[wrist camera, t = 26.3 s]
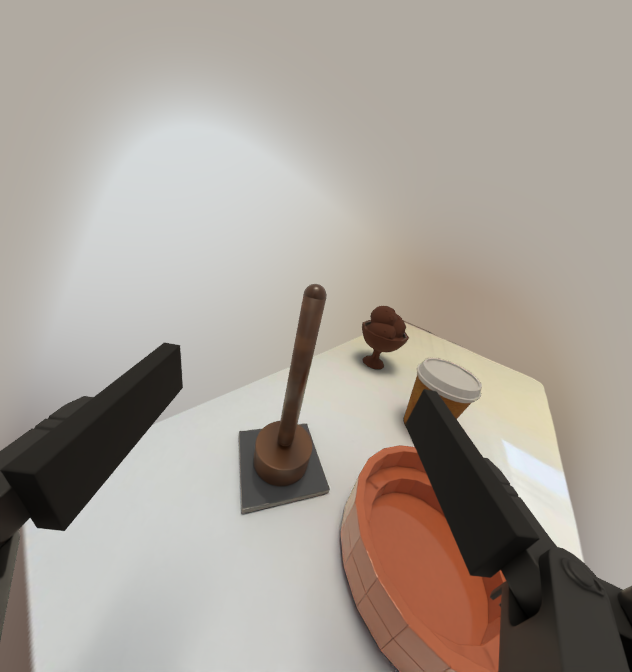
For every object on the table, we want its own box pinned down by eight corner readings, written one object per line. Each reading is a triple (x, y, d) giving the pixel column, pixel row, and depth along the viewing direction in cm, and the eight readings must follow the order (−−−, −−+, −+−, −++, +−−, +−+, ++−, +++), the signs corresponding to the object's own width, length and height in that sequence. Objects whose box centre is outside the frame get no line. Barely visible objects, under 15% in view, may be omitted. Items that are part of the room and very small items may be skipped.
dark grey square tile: (241, 514, 24) (242, 510, 24) (238, 435, 32) (238, 431, 32) (328, 493, 28) (330, 489, 27) (305, 427, 36) (306, 423, 36)
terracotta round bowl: (404, 781, 14) (455, 775, 11) (317, 493, 27) (329, 458, 25) (555, 650, 20) (612, 625, 17) (422, 468, 34) (442, 437, 31)
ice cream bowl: (373, 380, 51) (396, 319, 45) (343, 353, 60) (360, 299, 53) (403, 372, 57) (427, 317, 51) (372, 349, 65) (390, 299, 59)
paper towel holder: (256, 492, 25) (285, 293, 15) (251, 439, 31) (270, 269, 21) (315, 479, 28) (372, 302, 18) (300, 432, 34) (337, 278, 24)
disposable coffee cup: (458, 457, 37) (499, 400, 31) (399, 441, 37) (430, 383, 32) (438, 414, 45) (467, 364, 40) (391, 402, 46) (414, 351, 40)
